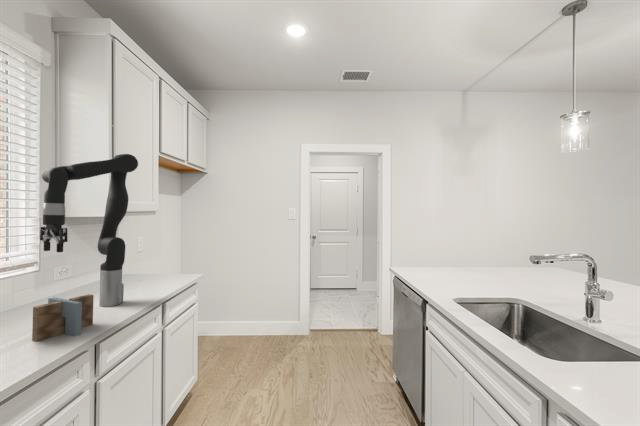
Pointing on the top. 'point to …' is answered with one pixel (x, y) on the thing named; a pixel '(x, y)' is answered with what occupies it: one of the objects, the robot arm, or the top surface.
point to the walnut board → (58, 317)
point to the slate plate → (70, 315)
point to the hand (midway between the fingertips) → (53, 251)
